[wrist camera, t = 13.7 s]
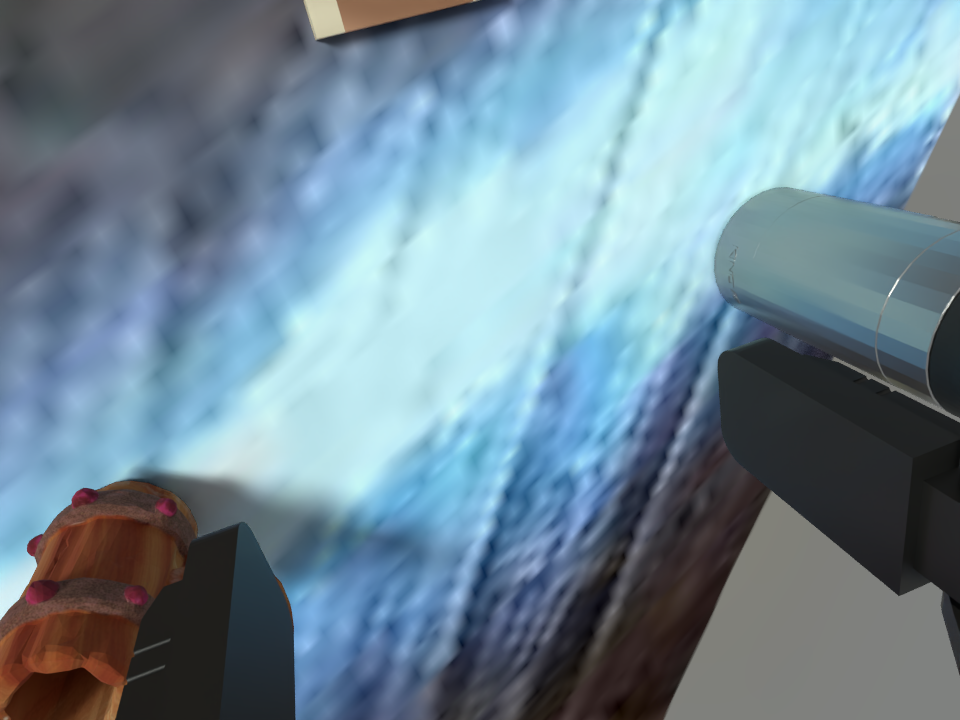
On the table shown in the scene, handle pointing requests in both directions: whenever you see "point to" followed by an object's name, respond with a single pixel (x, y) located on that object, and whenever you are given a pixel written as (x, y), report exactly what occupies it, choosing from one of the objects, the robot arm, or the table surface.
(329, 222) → the table surface
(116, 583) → the mug
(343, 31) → the beige flat rectangular frame
